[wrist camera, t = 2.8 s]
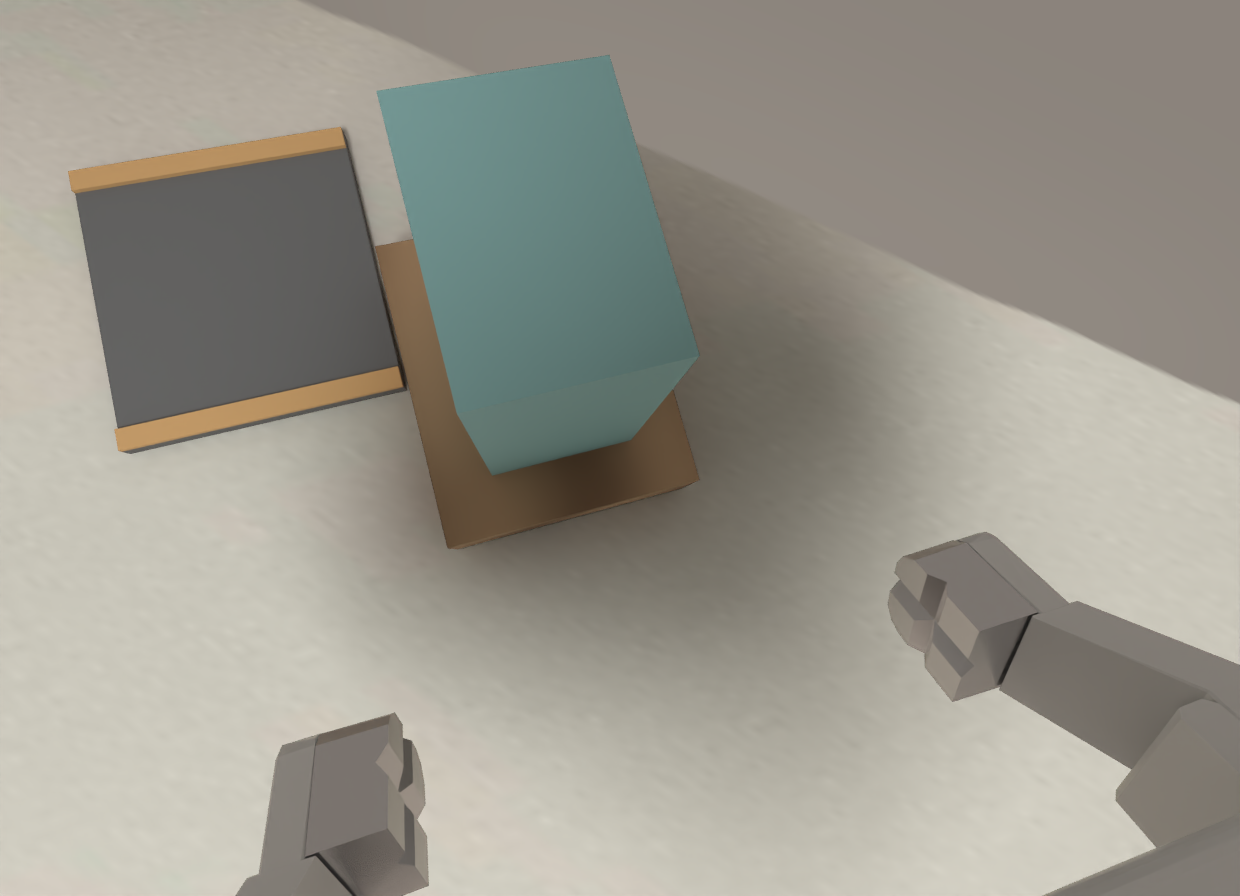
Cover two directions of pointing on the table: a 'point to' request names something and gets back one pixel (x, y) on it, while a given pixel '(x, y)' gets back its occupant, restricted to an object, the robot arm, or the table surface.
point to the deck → (526, 494)
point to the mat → (234, 287)
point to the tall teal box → (539, 257)
